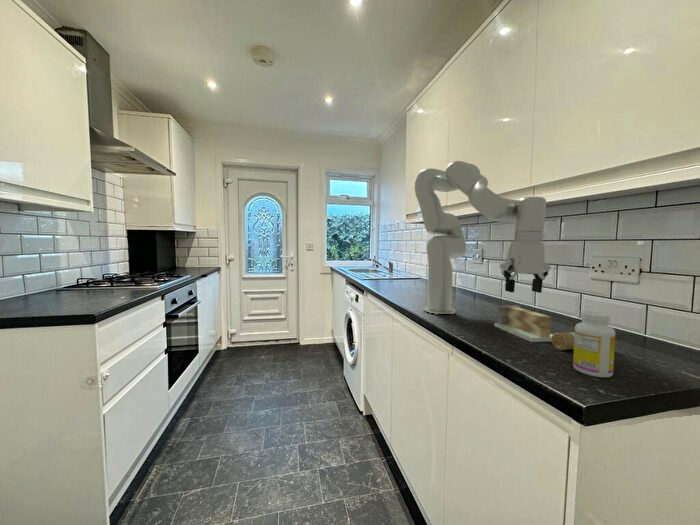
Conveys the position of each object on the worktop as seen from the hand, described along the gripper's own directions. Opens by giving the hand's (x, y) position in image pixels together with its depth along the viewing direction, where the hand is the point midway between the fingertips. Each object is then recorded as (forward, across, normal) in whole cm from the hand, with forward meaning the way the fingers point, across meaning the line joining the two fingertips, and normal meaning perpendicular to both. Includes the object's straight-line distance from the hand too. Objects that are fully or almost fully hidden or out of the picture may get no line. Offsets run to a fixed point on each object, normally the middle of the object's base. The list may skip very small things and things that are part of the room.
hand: (523, 291), depth 89 cm
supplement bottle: (+12, +6, +28) cm, 32 cm away
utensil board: (+13, -1, +1) cm, 13 cm away
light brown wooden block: (+12, 0, +1) cm, 12 cm away
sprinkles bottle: (+10, +2, +16) cm, 19 cm away
